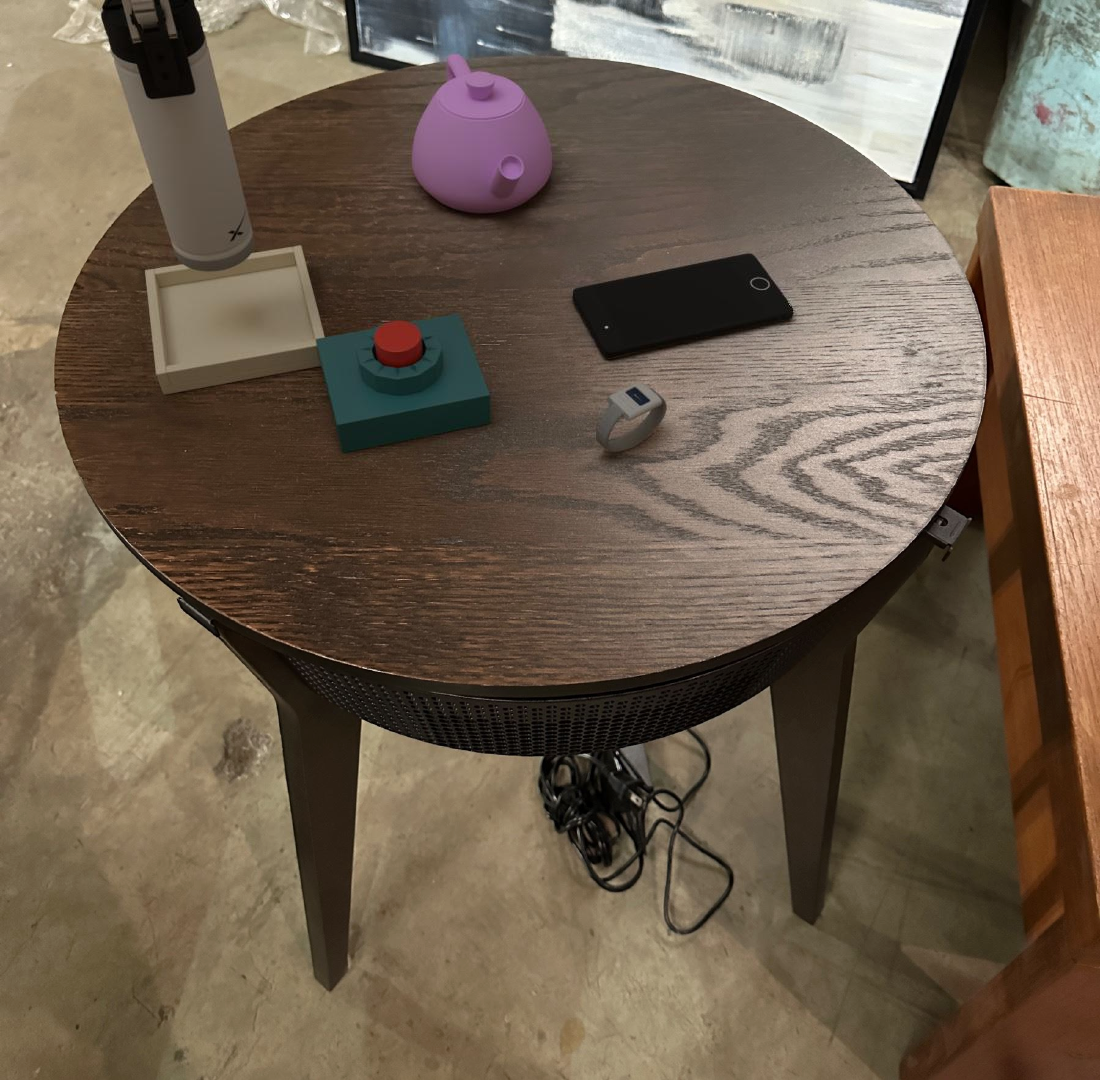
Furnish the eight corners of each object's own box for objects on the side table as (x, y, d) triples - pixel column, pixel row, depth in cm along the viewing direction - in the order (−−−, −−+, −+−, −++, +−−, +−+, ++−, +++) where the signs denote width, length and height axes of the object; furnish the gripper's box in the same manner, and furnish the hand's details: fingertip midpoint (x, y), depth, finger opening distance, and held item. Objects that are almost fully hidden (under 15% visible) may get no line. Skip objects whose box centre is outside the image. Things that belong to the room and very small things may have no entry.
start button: (381, 372, 79) (379, 355, 78) (372, 341, 81) (370, 324, 80) (427, 363, 80) (425, 346, 79) (417, 333, 82) (415, 316, 81)
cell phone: (794, 319, 91) (796, 311, 90) (605, 361, 87) (605, 353, 86) (750, 259, 96) (752, 251, 95) (570, 296, 92) (570, 288, 91)
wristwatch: (609, 470, 80) (613, 425, 76) (587, 448, 81) (591, 403, 77) (669, 437, 82) (677, 391, 78) (647, 416, 84) (654, 371, 80)
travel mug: (267, 262, 81) (207, 4, 66) (182, 280, 80) (100, 20, 64) (250, 217, 85) (190, -37, 69) (169, 234, 83) (88, -23, 68)
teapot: (446, 256, 95) (439, 152, 87) (393, 141, 107) (382, 40, 98) (585, 230, 99) (591, 127, 90) (519, 121, 110) (519, 20, 101)
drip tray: (163, 395, 84) (155, 374, 82) (152, 290, 91) (144, 269, 90) (330, 364, 86) (326, 343, 84) (305, 265, 94) (301, 244, 92)
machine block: (342, 453, 80) (333, 407, 76) (321, 367, 86) (312, 321, 82) (491, 423, 83) (489, 377, 79) (460, 342, 88) (458, 296, 84)
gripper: (9, -293, 61) (105, 15, 75) (5, -189, 51) (117, 144, 65) (140, -300, 62) (210, 4, 76) (162, -200, 52) (238, 128, 66)
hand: (167, 66), depth 71 cm, fingers closed on travel mug, 6 cm apart
